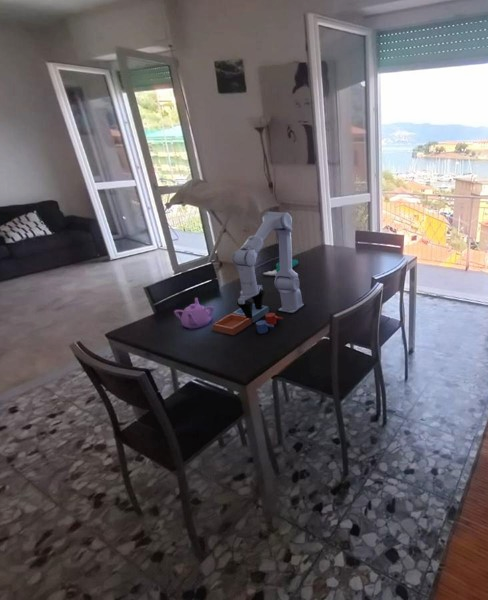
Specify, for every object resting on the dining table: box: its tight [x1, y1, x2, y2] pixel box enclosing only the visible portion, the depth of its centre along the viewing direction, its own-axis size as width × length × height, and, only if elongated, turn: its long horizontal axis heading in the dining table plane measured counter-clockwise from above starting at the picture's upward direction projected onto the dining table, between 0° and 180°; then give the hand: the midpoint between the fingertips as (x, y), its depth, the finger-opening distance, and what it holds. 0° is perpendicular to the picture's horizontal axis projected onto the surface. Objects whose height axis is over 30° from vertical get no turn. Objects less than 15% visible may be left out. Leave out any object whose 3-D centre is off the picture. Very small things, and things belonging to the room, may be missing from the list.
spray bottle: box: [262, 258, 299, 276], centre depth 213 cm, size 3×11×24 cm
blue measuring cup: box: [255, 319, 275, 335], centre depth 143 cm, size 8×4×4 cm, turn 68°
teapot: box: [173, 297, 215, 330], centre depth 150 cm, size 12×14×9 cm
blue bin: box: [232, 303, 270, 324], centre depth 157 cm, size 11×11×3 cm
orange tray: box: [211, 313, 253, 336], centre depth 147 cm, size 11×11×3 cm
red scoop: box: [264, 312, 284, 326], centre depth 149 cm, size 8×4×4 cm, turn 68°
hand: (254, 313), depth 139 cm, fingers open, 7 cm apart
